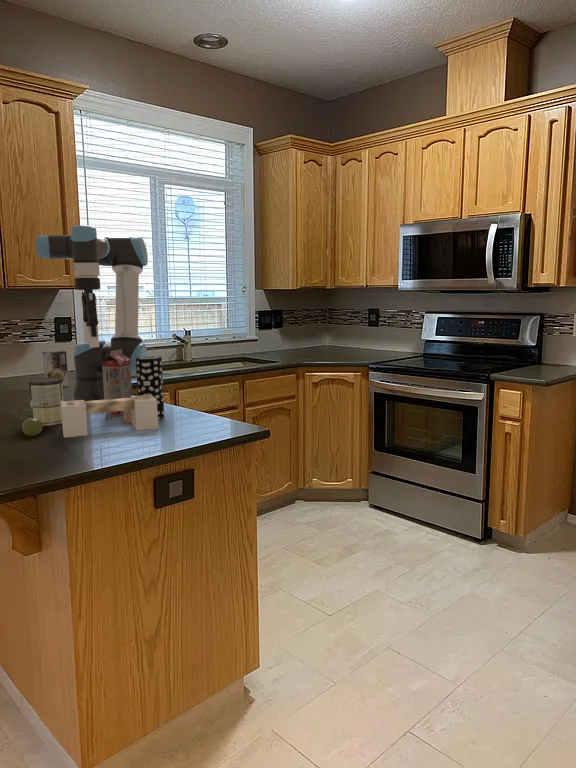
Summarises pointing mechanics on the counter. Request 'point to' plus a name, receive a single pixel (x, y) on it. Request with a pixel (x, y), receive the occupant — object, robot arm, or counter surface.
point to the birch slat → (109, 405)
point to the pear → (32, 426)
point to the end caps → (77, 421)
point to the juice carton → (117, 378)
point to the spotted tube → (151, 380)
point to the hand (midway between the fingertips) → (92, 344)
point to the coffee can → (46, 399)
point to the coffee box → (56, 365)
